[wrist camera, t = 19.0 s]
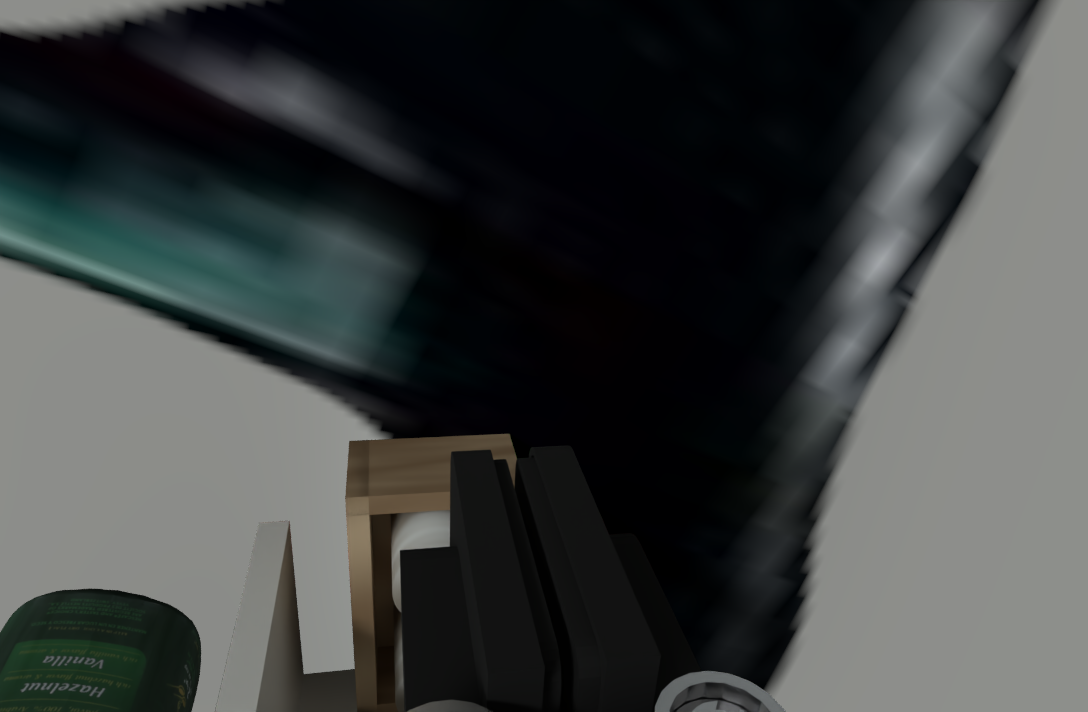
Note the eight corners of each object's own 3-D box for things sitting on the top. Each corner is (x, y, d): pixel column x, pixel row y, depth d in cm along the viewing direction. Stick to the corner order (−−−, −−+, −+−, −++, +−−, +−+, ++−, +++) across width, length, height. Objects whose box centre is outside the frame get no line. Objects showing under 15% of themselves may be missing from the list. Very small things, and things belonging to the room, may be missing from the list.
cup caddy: (349, 441, 31) (343, 528, 26) (509, 433, 33) (533, 515, 27) (360, 649, 36) (356, 759, 31) (500, 635, 37) (520, 739, 32)
